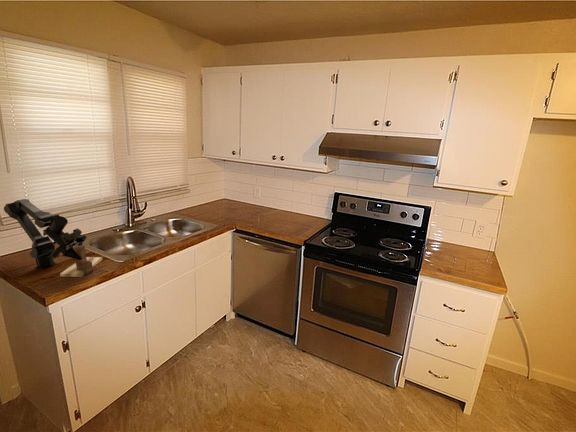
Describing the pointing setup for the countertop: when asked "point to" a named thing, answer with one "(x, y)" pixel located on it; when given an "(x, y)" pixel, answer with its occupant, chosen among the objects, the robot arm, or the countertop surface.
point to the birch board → (74, 272)
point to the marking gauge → (82, 260)
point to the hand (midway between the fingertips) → (83, 257)
